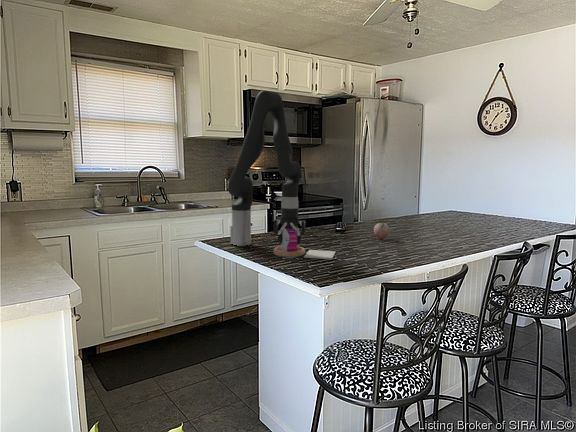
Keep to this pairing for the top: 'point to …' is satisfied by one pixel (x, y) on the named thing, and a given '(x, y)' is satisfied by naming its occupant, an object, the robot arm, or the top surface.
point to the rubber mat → (320, 254)
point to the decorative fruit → (381, 230)
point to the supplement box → (289, 240)
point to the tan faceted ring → (279, 252)
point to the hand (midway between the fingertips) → (289, 243)
